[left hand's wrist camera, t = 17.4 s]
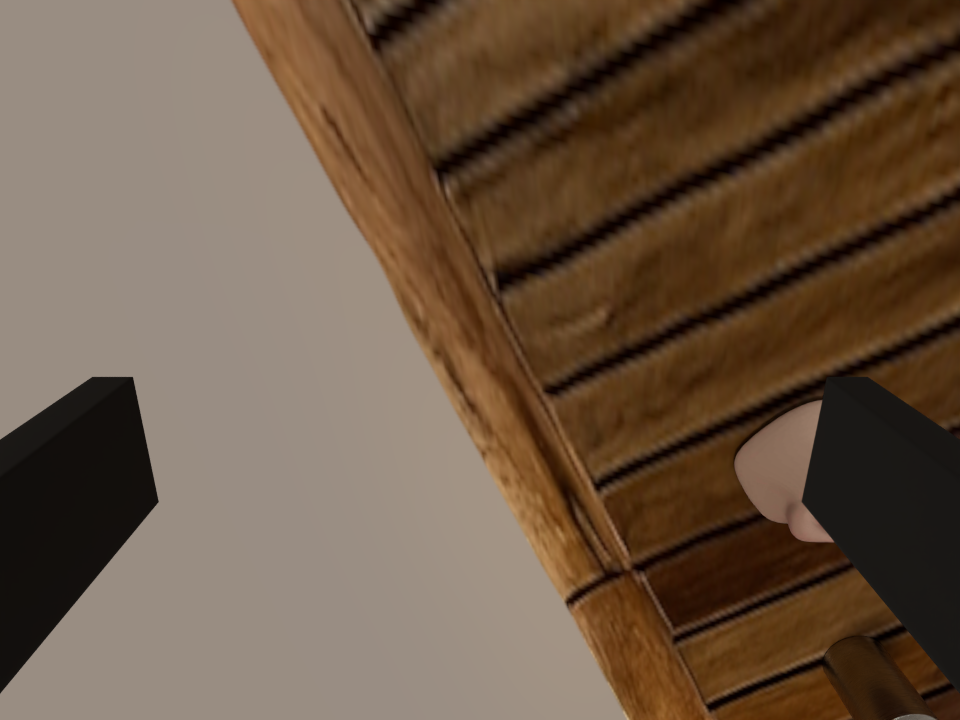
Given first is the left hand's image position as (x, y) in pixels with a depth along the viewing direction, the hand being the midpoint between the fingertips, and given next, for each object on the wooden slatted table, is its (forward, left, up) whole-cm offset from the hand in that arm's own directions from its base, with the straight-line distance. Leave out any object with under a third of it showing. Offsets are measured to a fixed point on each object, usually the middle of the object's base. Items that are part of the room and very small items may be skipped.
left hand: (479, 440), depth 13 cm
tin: (-8, +49, -32) cm, 59 cm away
